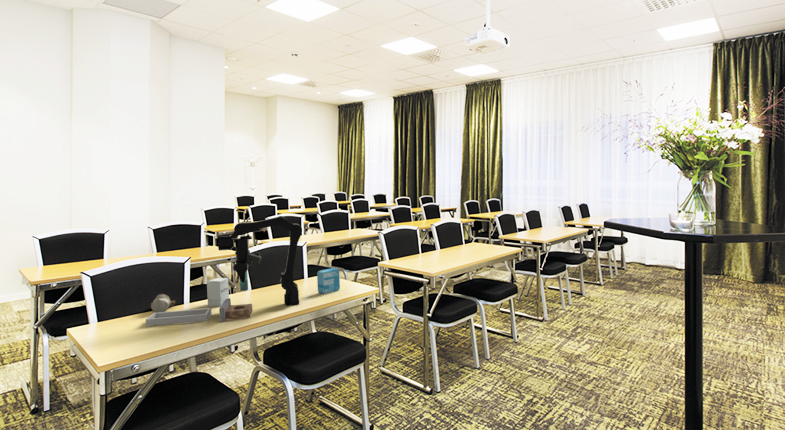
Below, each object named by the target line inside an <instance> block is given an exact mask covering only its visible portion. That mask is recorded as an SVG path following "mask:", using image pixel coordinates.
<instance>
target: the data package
mask: <svg viewBox="0 0 785 430" xmlns="http://www.w3.org/2000/svg"><path fill="white" fill-rule="evenodd" d="M316 278H317V279H316V280H317V292H318V293H319V294H323V295H326V294H330V293H333V292H338V291H339V290H340V288H341V287H340V286H341V284H340V280H341V279H340V269H338V268H333V267H331V268H326V269H321V270H318V271H317V273H316ZM337 290H338V291H337Z"/></svg>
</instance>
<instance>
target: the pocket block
mask: <svg viewBox="0 0 785 430" xmlns="http://www.w3.org/2000/svg"><path fill="white" fill-rule="evenodd" d="M253 312H254V311H253V304H252V303H246V304H245V303H242V304H233V305H232V304H231V305H230V306H229V307H228V309H227V310H226V321H232V320H240V319H243V320H244V319H250V318H251V316H252V314H253Z"/></svg>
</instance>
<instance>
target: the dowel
mask: <svg viewBox="0 0 785 430" xmlns="http://www.w3.org/2000/svg"><path fill="white" fill-rule="evenodd" d="M248 278H249V277H248V270H247V271H246V275H245V282H243V283H242V281H241V280H240V279H239V290H240V291H241V292H245V291H246V292H247V291H249V280H248Z"/></svg>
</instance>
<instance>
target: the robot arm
mask: <svg viewBox="0 0 785 430" xmlns="http://www.w3.org/2000/svg"><path fill="white" fill-rule="evenodd" d="M275 226H281V227H282V228H284V229H286V231H289V246H288V251H287V252H288V253H287V258H286V266H285V270H284V272H283V271H281V272H280V273H281V275H280V280H279V284H281V288H282V289H284V290H285V293H284V295H283V296H284V297H283V298H284V304H285V306H295V305H299V304H300V297H299V296H300V295H299V294H300V293H299V287H298V284H297V282H295V281H294V267H295V262H296V256H297V247H298V243H299V240H300V238H301V235H302V232H303V228H302V227H301V225H300V224H299V223H293V222H291V221H290V220H289V219H286V218H285V217H284V216H282V215H281V216H280V215H279V216H277V217H276V216H275V217H273V218H272V217H271V218H268V219H262V220H258V221H248V222H247V221H246V222H244V221H243V222H238V223H236V224H235V226H234V228H233V232H232V233H231V234H230V235H219V236H218V240H217V241H218V243H217V248H218V251H231V250H233V248H235V252H234V255H235V259H236V260H235V264H233V266H232V271H235V273H236V274H237V276H238V278H239V281H240V280H241V281H242V283H243V282H245V275H246V271H247V272H248V270H249V269H250V267H251V265H252V263H255V264H256V265H257V264H258V265H259V264H260V262H261V260H262V256H261V255H260V252H257V251H256V252H255V253H251V252H250V249H249V240H253V237H252V236H251V235H250V234H249V233H252V232H254V231H256V230H261V229H265V228H271V227H275Z"/></svg>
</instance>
